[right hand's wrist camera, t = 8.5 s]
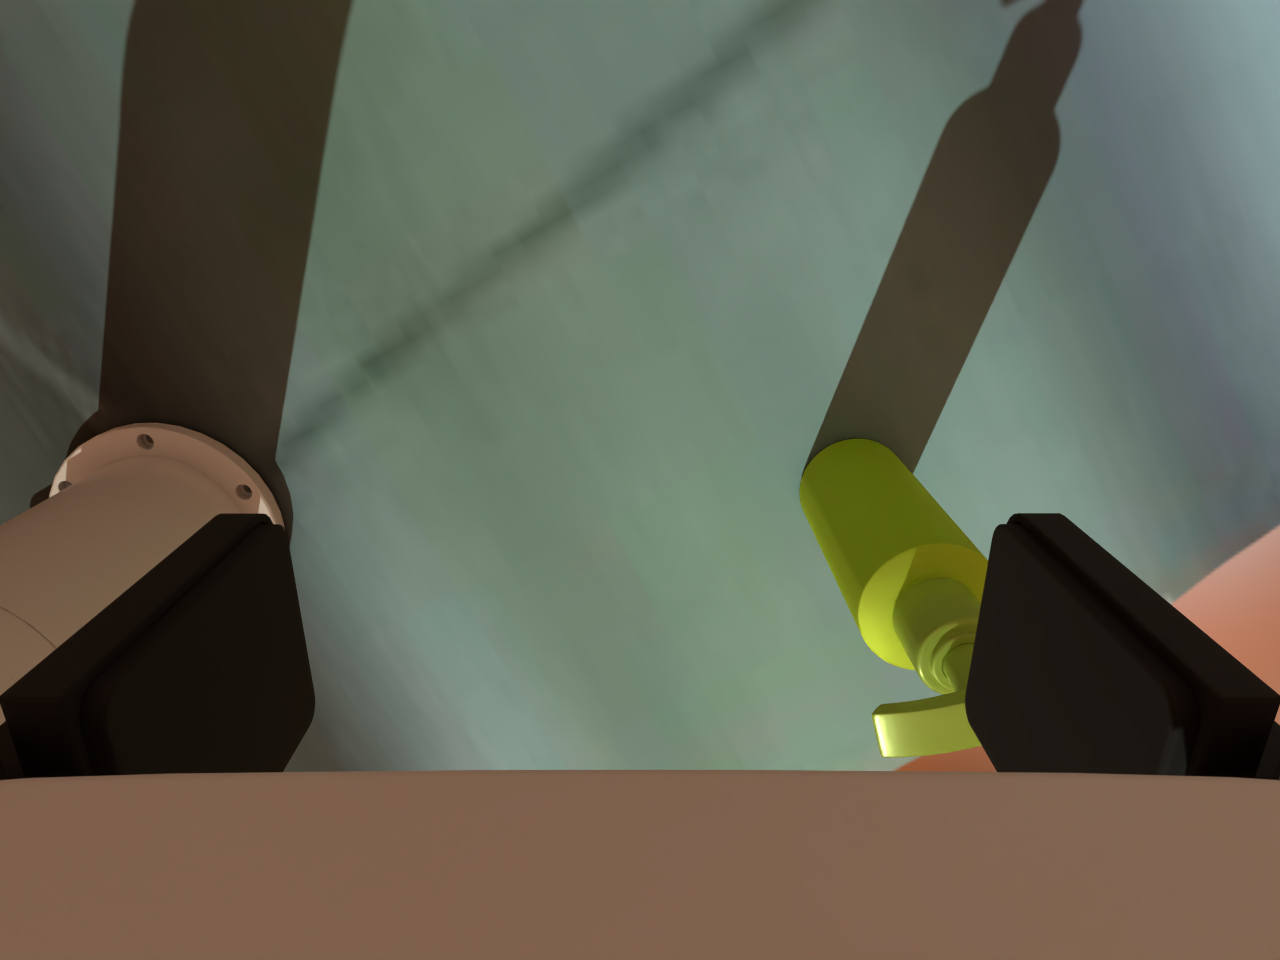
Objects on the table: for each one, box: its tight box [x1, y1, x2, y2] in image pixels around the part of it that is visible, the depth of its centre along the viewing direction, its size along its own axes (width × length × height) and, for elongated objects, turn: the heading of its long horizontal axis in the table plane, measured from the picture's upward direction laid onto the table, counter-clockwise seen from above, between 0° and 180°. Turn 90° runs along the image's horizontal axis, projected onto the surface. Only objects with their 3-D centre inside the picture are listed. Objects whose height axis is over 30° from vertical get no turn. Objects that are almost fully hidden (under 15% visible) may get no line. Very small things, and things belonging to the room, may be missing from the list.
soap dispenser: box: [800, 439, 988, 757], centre depth 36 cm, size 6×7×20 cm
